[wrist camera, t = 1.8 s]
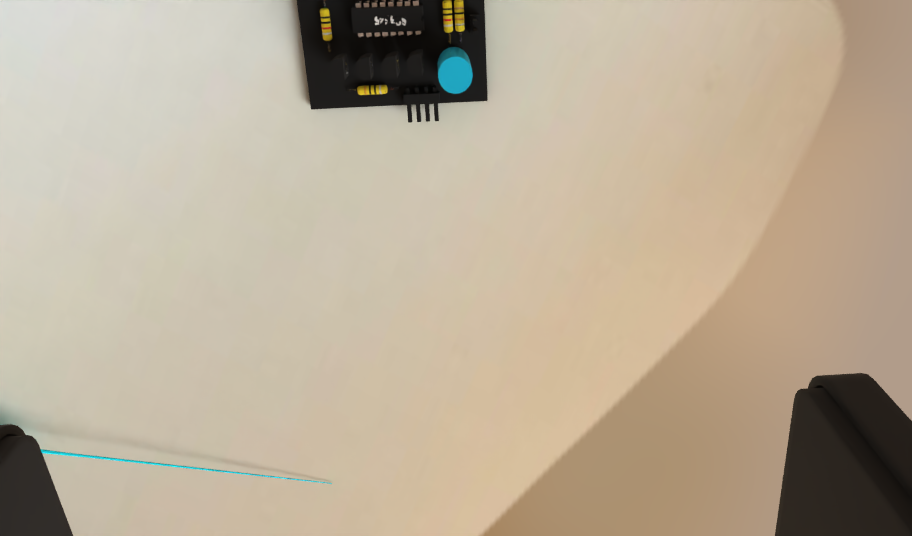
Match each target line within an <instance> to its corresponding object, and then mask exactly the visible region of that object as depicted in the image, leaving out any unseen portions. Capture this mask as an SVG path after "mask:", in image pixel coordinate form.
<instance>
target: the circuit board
mask: <svg viewBox="0 0 912 536" xmlns="http://www.w3.org/2000/svg"><path fill="white" fill-rule="evenodd" d="M297 5H298V12H299V20H300V28H301V35H302V43H303V51H304V58H305V66H306V74H307V81H308V89H309V96H310V104H311V109H327V108H348V107H368V106H389V105H407V111H408V122H412V111H411V105H413V104H416V111H417V122H421V113H420V104H425V112H426V121H430V114H429V104H434V114H435V121H439V117H438V103H451V102H472V101H487V73H486V42H485V12H484V0H297Z"/></svg>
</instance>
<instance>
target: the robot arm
mask: <svg viewBox="0 0 912 536" xmlns="http://www.w3.org/2000/svg"><path fill="white" fill-rule="evenodd" d="M0 536H73V534H72V532H71V529H70V526H69V524H68V521H67V518H66V516H65V513H64V510H63V508H62V505H61V502H60V500H59V497H58V494H57V492H56V489H55V487H54V484H53V481H52V479H51V476H50V473H49V471H48V468H47V465H46V463H45V460H44V457H43V455H42V452H41V449H40V447H39V445H38V443H37V441H36V439H34V438H33V437H32V436H28V435H25V433H24V431H23V430H22V429H21V428H19V427H18V426H16V425H12V424H10V425H0ZM775 536H912V421H911V420H910V419H909V418H908V417H907V416H906V414H905V413H903V411H902V410H901V409H900V408H899V407H898V406H897V405H896V403H895V402H894V401H893V400H892V399H891V398H890V397H889V396H888V395H887V393H885V391H884V390H883V389H882V388H881V387H880V386H879V385H878V384H877V382H876V381H874V379H873V378H871V377H870V376H869V375H867V374H863V373H857V374H840V375H823V376H816V377H814V378H812V380H811V382H810V384H809V386H808V389H800V390H798V391H797V393H796V395H795V399H794V404H793V411H792V418H791V425H790V433H789V440H788V447H787V454H786V462H785V468H784V475H783V482H782V489H781V497H780V504H779V511H778V518H777V525H776V532H775Z"/></svg>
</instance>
